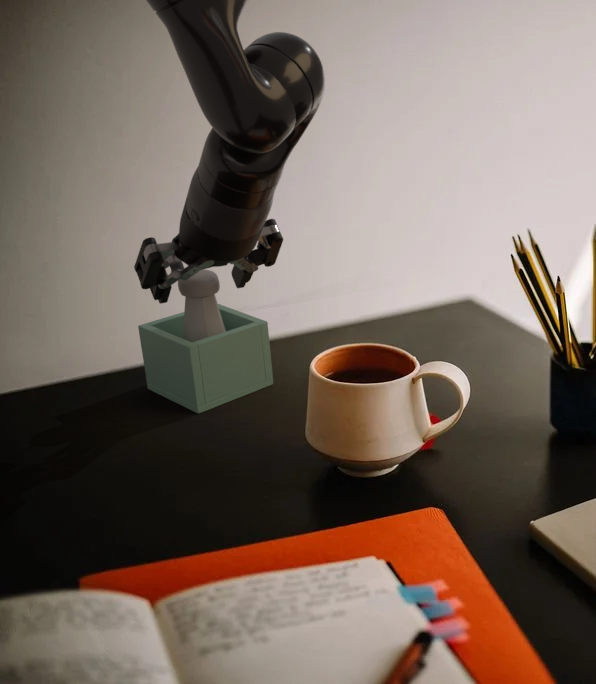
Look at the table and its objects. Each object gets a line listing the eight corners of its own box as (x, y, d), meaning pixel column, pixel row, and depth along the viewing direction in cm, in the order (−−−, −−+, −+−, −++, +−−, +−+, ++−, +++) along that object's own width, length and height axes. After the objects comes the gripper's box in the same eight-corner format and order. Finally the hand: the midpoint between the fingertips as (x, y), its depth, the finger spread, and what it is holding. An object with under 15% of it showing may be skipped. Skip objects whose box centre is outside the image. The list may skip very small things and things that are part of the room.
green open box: (198, 414, 98) (189, 347, 95) (147, 389, 104) (137, 325, 101) (273, 384, 105) (267, 321, 102) (222, 362, 111) (215, 302, 108)
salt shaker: (195, 396, 100) (180, 284, 95) (176, 379, 104) (160, 271, 99) (245, 382, 104) (233, 273, 99) (225, 366, 108) (212, 261, 103)
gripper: (283, 165, 91) (249, 249, 104) (138, 182, 83) (121, 270, 96) (310, 227, 90) (272, 305, 102) (165, 250, 81) (143, 332, 94)
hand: (199, 288), depth 99 cm, fingers open, 8 cm apart
